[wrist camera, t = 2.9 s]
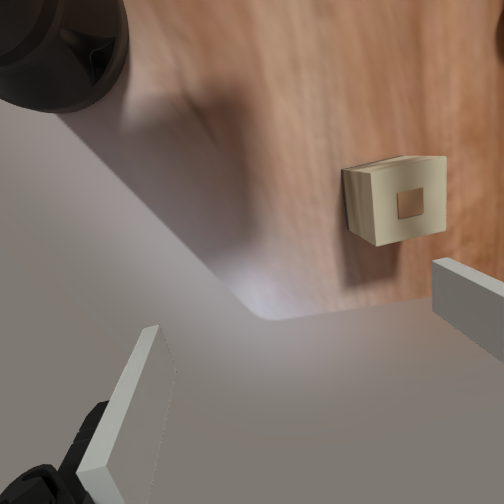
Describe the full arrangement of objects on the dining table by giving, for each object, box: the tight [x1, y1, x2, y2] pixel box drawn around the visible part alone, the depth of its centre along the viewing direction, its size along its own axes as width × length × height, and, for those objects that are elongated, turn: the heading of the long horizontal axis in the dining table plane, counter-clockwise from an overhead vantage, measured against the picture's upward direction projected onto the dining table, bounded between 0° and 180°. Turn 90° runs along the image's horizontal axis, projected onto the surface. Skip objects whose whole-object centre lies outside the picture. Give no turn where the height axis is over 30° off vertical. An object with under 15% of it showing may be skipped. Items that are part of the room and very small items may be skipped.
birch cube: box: [341, 156, 447, 247], centre depth 31 cm, size 7×7×7 cm
